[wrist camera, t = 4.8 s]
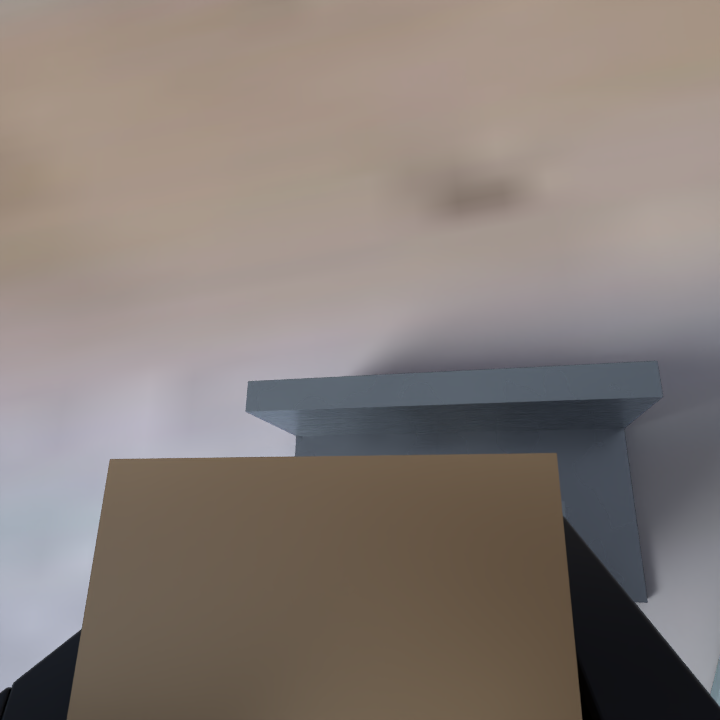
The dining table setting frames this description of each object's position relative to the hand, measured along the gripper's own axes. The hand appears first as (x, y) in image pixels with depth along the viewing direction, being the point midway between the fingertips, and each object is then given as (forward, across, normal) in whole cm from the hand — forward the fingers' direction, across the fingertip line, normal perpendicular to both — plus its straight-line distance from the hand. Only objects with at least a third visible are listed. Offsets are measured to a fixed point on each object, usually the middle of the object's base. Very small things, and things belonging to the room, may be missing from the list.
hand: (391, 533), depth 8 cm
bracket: (+9, 0, +8) cm, 12 cm away
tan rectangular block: (+5, 0, +7) cm, 8 cm away
